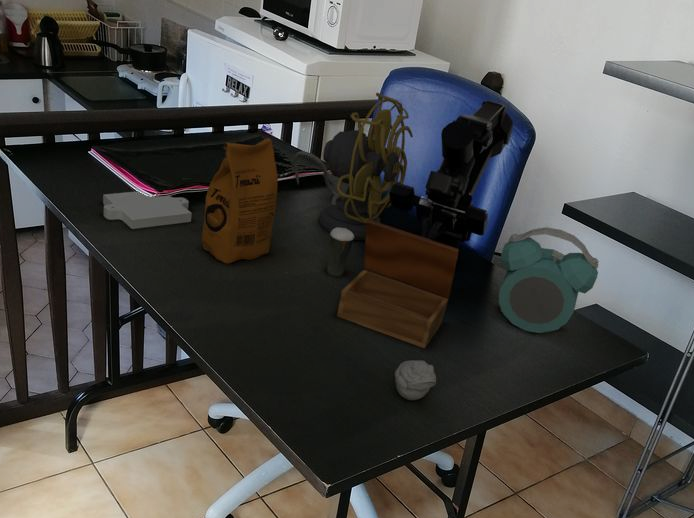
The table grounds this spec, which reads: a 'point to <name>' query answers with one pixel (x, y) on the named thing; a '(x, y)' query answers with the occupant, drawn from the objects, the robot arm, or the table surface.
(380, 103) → the electric fan
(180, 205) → the mounting plate
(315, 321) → the table surface
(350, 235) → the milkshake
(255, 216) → the coffee package
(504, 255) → the alarm clock
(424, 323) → the brown open rectangular box
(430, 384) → the grey lumpy ball
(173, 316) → the table surface
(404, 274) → the lid
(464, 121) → the robot arm
